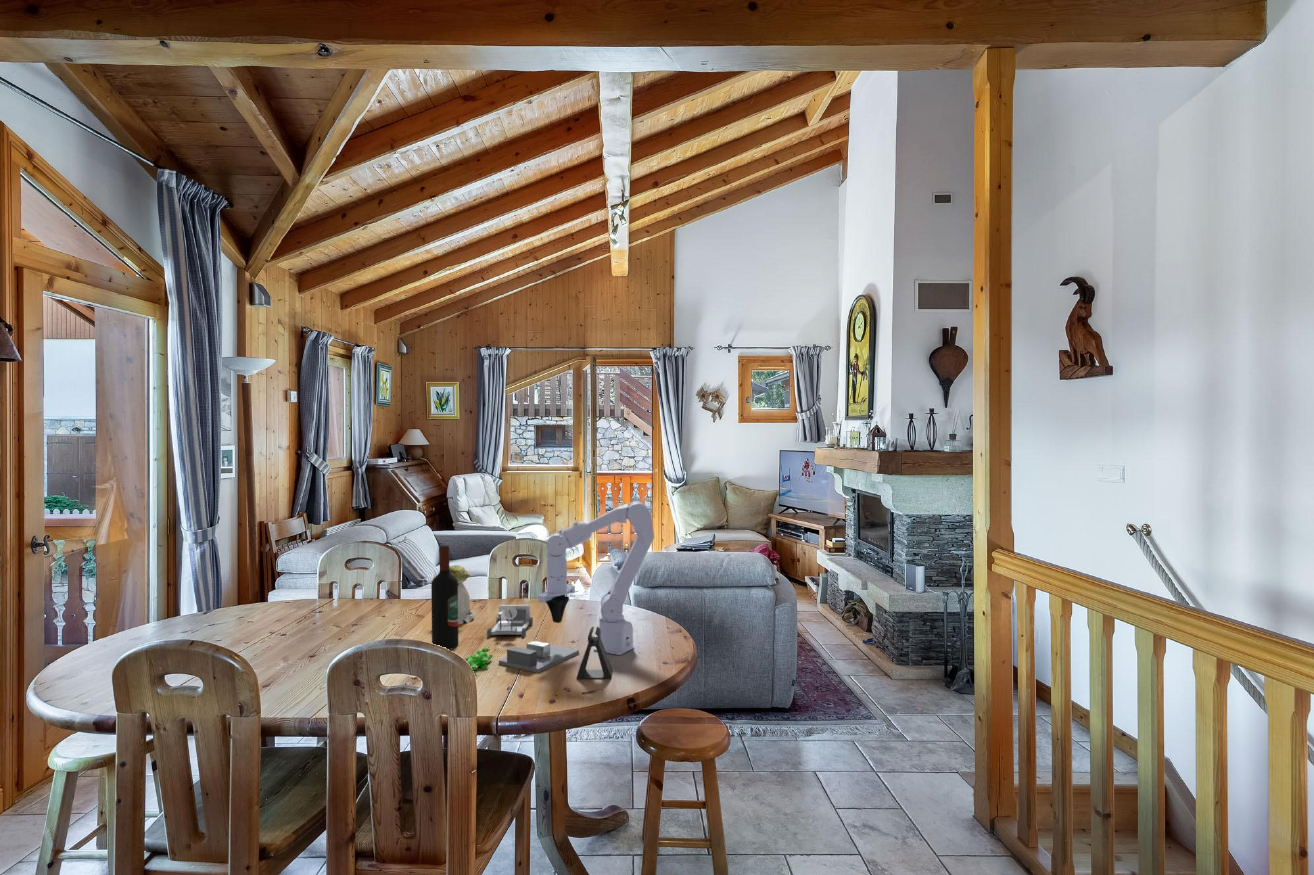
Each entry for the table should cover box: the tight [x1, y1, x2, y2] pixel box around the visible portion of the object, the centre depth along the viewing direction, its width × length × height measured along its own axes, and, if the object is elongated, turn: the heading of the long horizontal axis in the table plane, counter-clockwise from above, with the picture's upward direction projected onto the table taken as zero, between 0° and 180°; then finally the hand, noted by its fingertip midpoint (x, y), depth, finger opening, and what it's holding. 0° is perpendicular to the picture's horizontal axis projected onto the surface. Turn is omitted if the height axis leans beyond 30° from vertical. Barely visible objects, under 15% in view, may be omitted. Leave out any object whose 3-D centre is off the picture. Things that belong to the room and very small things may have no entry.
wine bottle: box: [430, 544, 459, 650], centre depth 207 cm, size 8×8×30 cm
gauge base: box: [498, 644, 580, 674], centre depth 196 cm, size 14×18×4 cm
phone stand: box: [576, 626, 613, 680], centre depth 182 cm, size 9×6×12 cm, turn 90°
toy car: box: [486, 604, 534, 638], centre depth 222 cm, size 18×10×12 cm
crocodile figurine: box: [463, 647, 493, 675], centre depth 187 cm, size 7×18×4 cm, turn 163°
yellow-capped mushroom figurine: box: [449, 565, 476, 626], centre depth 236 cm, size 12×13×18 cm
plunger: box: [526, 640, 551, 658], centre depth 196 cm, size 9×3×3 cm, turn 60°
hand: (557, 622), depth 202 cm, fingers closed
